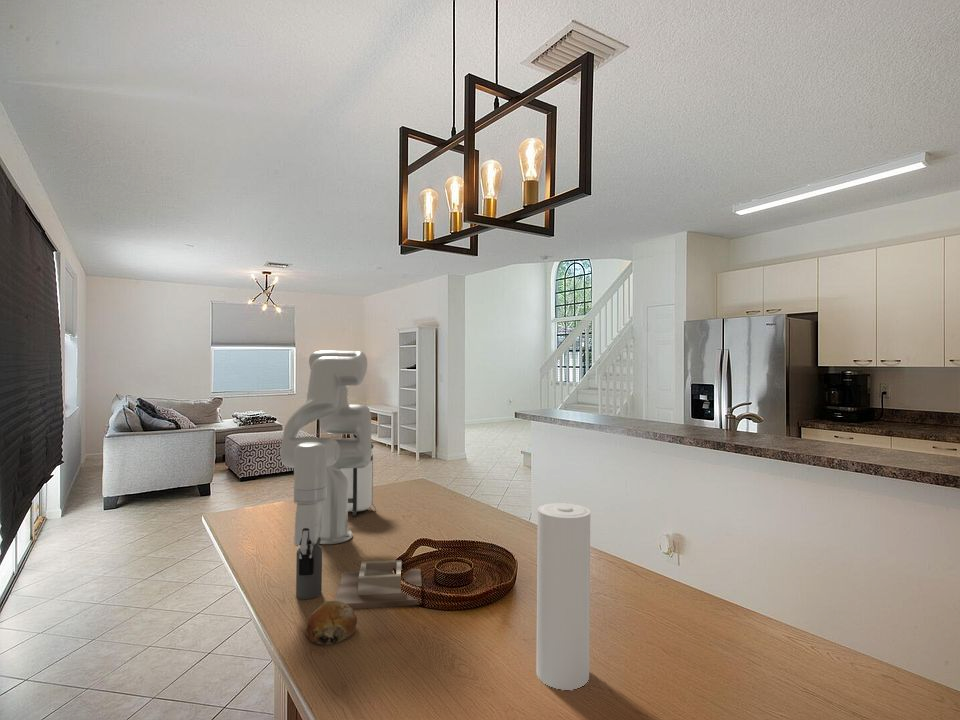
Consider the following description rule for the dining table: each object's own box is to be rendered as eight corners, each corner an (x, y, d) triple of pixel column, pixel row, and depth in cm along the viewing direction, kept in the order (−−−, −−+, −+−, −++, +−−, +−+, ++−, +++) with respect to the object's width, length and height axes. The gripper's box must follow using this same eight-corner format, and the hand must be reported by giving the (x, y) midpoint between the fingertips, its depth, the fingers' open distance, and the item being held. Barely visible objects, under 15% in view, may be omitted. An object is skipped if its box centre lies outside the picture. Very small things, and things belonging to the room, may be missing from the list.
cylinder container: (532, 660, 97) (533, 500, 97) (580, 658, 97) (581, 500, 98) (542, 691, 87) (543, 515, 88) (596, 689, 88) (597, 514, 88)
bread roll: (361, 647, 107) (370, 605, 110) (334, 649, 98) (345, 603, 102) (321, 638, 110) (331, 598, 114) (292, 639, 102) (304, 595, 105)
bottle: (313, 600, 120) (314, 536, 120) (291, 598, 121) (291, 534, 121) (326, 589, 126) (326, 528, 126) (304, 587, 127) (305, 526, 127)
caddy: (343, 576, 133) (343, 556, 133) (420, 573, 136) (420, 553, 136) (333, 609, 116) (334, 586, 116) (422, 604, 118) (423, 581, 119)
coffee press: (335, 506, 199) (336, 429, 199) (377, 505, 201) (378, 429, 201) (327, 520, 182) (328, 435, 182) (373, 519, 184) (374, 435, 184)
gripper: (301, 486, 132) (300, 555, 132) (285, 504, 115) (284, 584, 114) (331, 485, 133) (330, 554, 133) (320, 503, 116) (319, 582, 115)
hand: (309, 567), depth 123 cm, fingers open, 6 cm apart
